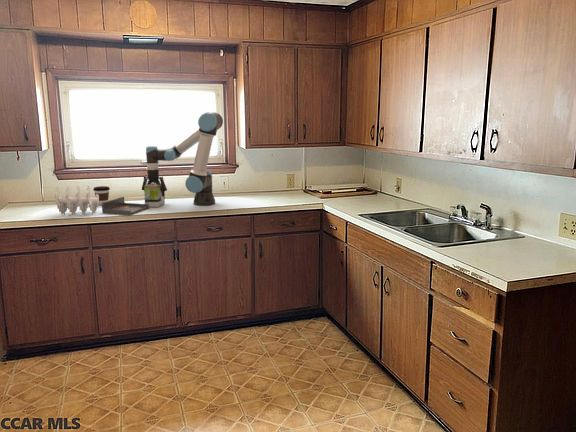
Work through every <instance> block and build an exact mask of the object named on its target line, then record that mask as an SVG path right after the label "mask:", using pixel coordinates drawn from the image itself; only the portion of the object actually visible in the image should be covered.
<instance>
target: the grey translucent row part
mask: <svg viewBox="0 0 576 432" xmlns="http://www.w3.org/2000/svg"><path fill="white" fill-rule="evenodd" d="M80 194H81V193H80V187H79V185H77V187H76V194H75V197H74V196H73V197H72V196H70V188H69V186H66V189H65V196H60V189H59V186H56V188H55V194H54V195H55V204H56V205H57V207H56V208H57V209H58V212H59V213H60V214H61V215H65V214H66V213H67V211H68V210H69V213H71V215H72V216H73V215H74V214H76V212H77V210H78V208H79V211H81V214H85V213H86V212H87V211H88V208H89V210H90V211H91V214H95V213H96V211H97V210H98V207H99V205H98V204H99V195H98V194H96V196H94V197H90V186H89V185H87V187H86V194H85V197H82V196H80Z"/></svg>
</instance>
